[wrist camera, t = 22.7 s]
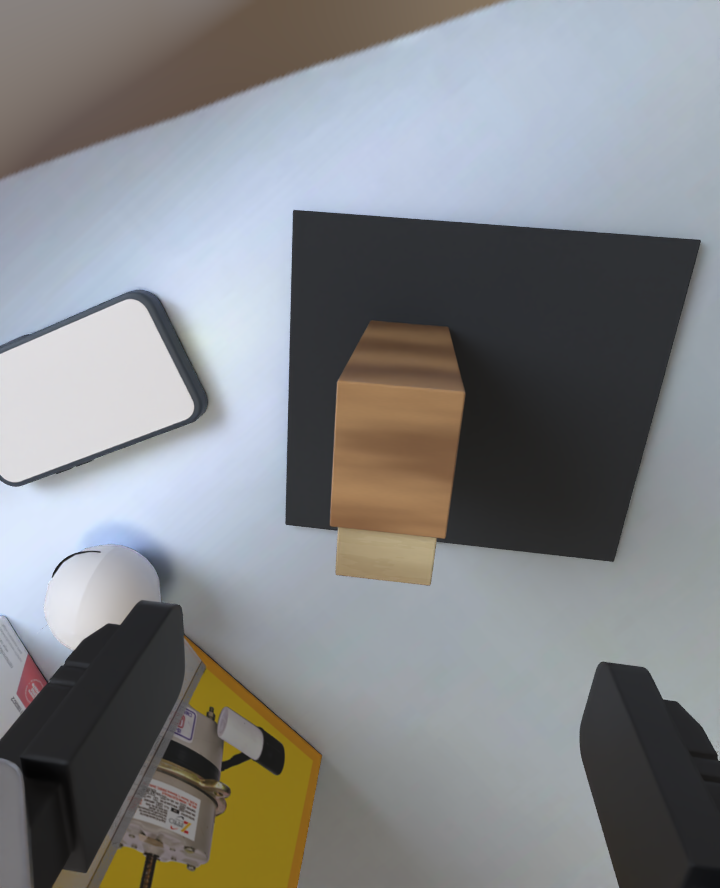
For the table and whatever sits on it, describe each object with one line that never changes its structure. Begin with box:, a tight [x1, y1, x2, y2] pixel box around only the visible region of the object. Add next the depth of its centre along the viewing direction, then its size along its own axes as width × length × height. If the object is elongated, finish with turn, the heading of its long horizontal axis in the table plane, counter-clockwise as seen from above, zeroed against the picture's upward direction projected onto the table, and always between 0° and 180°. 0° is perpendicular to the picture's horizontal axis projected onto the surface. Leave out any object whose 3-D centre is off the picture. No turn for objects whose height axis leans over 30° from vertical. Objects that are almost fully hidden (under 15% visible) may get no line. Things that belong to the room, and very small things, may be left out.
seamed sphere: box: [42, 544, 161, 651], centre depth 39 cm, size 10×7×7 cm
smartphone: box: [0, 290, 207, 487], centre depth 37 cm, size 9×2×16 cm
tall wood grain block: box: [330, 321, 465, 585], centre depth 28 cm, size 14×5×8 cm
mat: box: [286, 210, 701, 562], centre depth 35 cm, size 22×20×1 cm
